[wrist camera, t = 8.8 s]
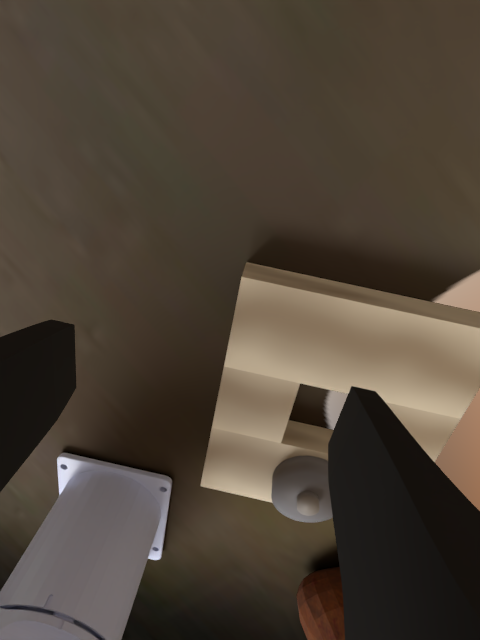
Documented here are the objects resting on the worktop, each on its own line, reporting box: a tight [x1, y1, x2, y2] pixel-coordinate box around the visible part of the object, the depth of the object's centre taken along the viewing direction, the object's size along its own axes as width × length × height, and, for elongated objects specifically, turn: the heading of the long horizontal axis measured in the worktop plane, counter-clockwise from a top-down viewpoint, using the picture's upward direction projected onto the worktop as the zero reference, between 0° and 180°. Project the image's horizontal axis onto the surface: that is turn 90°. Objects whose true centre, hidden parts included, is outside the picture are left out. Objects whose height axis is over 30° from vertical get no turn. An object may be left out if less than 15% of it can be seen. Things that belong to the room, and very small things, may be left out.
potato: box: [297, 567, 345, 640], centre depth 25 cm, size 8×12×8 cm, turn 97°
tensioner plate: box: [200, 262, 480, 522], centre depth 20 cm, size 14×12×4 cm
